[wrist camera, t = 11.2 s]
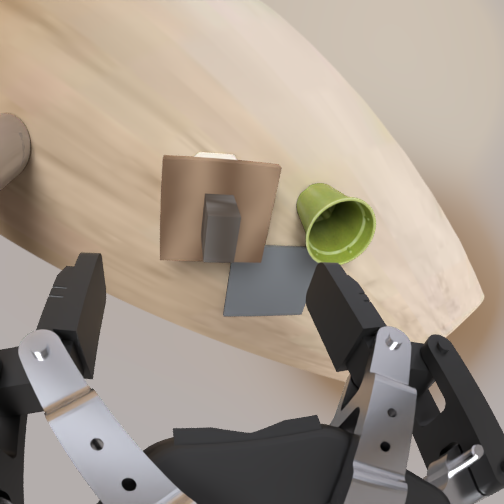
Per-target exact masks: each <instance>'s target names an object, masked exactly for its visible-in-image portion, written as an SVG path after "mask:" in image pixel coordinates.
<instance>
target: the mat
mask: <svg viewBox="0 0 504 504" xmlns="http://www.w3.org/2000/svg"><path fill="white" fill-rule="evenodd" d="M317 264H318V262H316V261H315V260H314V259H312V257H311V256H310V255H309V253H308V250H307V248H306V247H298V246H273V245H265V247H264V252H263V256H262V261H261V263H250V262H234V263H231V266H230V273H229V279H228V286H227V292H226V299H225V306H224V313H223V316H273V315H300V314H302V311H303V309H304V306H305V303H306V293H307V290H308V287H309V285H310V282H311V279H312V277H313V274H314V271H315V268H316V266H317Z"/></svg>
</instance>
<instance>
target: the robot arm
mask: <svg viewBox="0 0 504 504" xmlns="http://www.w3.org/2000/svg"><path fill="white" fill-rule="evenodd" d="M30 145H31V144H30V137H29V134H28V131H27V129H26V127H25V125H24V123H23V122H22V121H21V120H20V119H19V118H18V117H16V116H15V115H12V114H9V113H2V114H0V190H1V189H3V188H4V187H5V186H6V185H7V184H8V183H9V182H11V181H12V180H13V179H14V178H15V177H16V176H17V175H19V174H20V173H21V172H22V171H23V169H24V168H25V166H26V165H27V162H28V159H29V156H30ZM364 293H365V292H364V291H363V289H362V288H361V286H360V285H359V284H358V283H357V282H356V281H355V280H354V279H353V278H351V277H350V276H349V275H347V274H346V273H345V271H344V270H343V268H342V267H341V266H340V264H339V263H331V262H320V263H318V264H317V266H316V268H315V271H314V274H313V277H312V279H311V282H310V285H309V287H308V290H307V293H306V306H307V308H308V311H309V313H310V315H311V317H312V319H313V321H314V324H315V326H316V328H317V330H318V332H319V334H320V336H321V339H322V341H323V343H324V345H325V347H326V350H327V352H328V354H329V356H330V358H331V360H332V363H333V365H334V367H335V369H336V372H339V371H345V370H348V371H349V373H350V375H349V376H348V378H347V380H346V383H345V386H344V390H343V393H342V396H341V399H340V402H339V405H338V408H337V411H336V414H335V416H334V418H333V420H332V422H331V424H330V425H326V424H320V422H319V419H318V416H317V415H314V416H309V417H302V418H296V419H290V420H284V421H282V422H279V423H277V424H274V425H272V426H269V427H267V428H264V429H262V430H259V431H256V432H253V433H244V432H237V431H230V430H223V429H217V428H181V429H180V428H174V429H173V436H174V437H172V438H169V439H165V440H162V441H160V442H157V443H155V444H153V445H151V446H149V447H148V448H146V449H145V450H143V451H142V450H141V449H140V448H139V446H138V445H137V444H136V443H135V442H134V441H133V439H132V438H131V437H130V436H129V435H128V433H127V432H126V431H125V430H124V429H123V427H122V426H121V425H120V423H119V422H118V421H117V420H116V418H115V417H114V416H113V414H112V413H111V412H110V410H109V409H108V408H107V407H106V405H105V404H104V402H103V401H102V399H101V398H100V397H99V395H98V394H97V393H96V392H95V390H94V389H91V388H90V387H89V386H88V384H87V383H86V381H85V380H84V378H85V379H93V374H94V366H95V360H96V352H97V346H98V340H99V335H100V329H101V324H102V319H103V313H104V308H105V303H106V286H105V278H104V270H103V262H102V256H101V254H100V253H80V254H79V256H78V259H77V261H76V264H75V266H74V267H72V266H66V267H65V268H64V269H63V270H62V271H61V272H60V273H59V274H58V275H57V277H56V280H55V282H54V284H53V288H52V289H51V292H50V294H49V297H48V299H47V302H46V304H45V307H44V310H43V312H42V315H41V318H40V321H39V323H38V326H37V329H36V330H35V331H32V332H31V333H29V334H27V335H26V336H25V337H24V338H23V339H22V341H21V342H20V345H19V346H18V347H14V348H8V349H2V350H0V504H24V494H23V492H24V491H23V472H24V447H25V434H26V423H27V414H29V413H35V412H42V411H45V417H46V419H47V421H48V423H49V425H50V426H51V428H52V430H53V432H54V433H55V435H56V437H57V439H58V440H59V442H60V444H61V445H62V447H63V448H64V450H65V451H66V453H67V455H68V456H69V458H70V459H71V461H72V462H73V464H74V465H75V467H76V468H77V469H78V471H79V472H80V474H81V475H82V477H83V478H84V479H85V481H86V482H87V483H88V485H89V486H90V487H91V489H92V490H93V491H94V493H95V494H96V495H97V496H98V498H99V499H100V501H99V502H98V503H97V504H474V503H476V502H478V501H480V500H482V499H484V498H486V497H488V496H490V495H492V494H494V493H496V492H497V491H499V490H501V489H503V488H504V434H503V431H502V429H501V428H500V426H499V424H498V422H497V420H496V418H495V416H494V414H493V412H492V410H491V408H490V407H489V405H488V403H487V401H486V399H485V397H484V396H483V394H482V392H481V391H480V389H479V387H478V385H477V384H476V382H475V380H474V379H473V377H472V375H471V373H470V372H469V370H468V368H467V367H466V365H465V364H464V362H463V360H462V359H461V357H460V356H459V354H458V352H457V351H456V349H455V348H454V346H453V345H452V343H451V342H450V341H449V340H448V339H446V338H445V337H443V336H441V335H436V334H435V335H431V336H430V337H429V338H428V339H427V341H426V342H425V343H424V344H422V343H415V342H410V340H409V338H408V337H407V336H406V335H405V334H404V333H403V332H402V331H401V330H399V329H397V328H394V327H390V326H386V324H385V323H384V321H383V320H382V318H381V317H380V315H379V313H378V312H377V310H376V309H375V307H374V306H373V304H372V303H371V302H369V298H368V297H367V295H366V294H364ZM435 381H436V383H437V385H438V387H439V389H440V391H441V392H442V394H443V396H444V398H445V402H446V405H445V409H444V411H443V412H442V413H440V411H439V409H438V407H437V405H436V403H435V401H434V399H433V397H432V395H431V394H430V392H429V390H428V388H429V387H430V386H431V385H432V384H433V383H434V382H435ZM412 434H413V436H414V439H415V441H416V443H417V446H418V448H419V451H420V453H421V455H422V458H423V460H424V463H425V465H426V468H427V476H425V477H424V478H423V479H422V478H420V477H418V476H416V475H415V474H413V473H412V472H410V471H408V470H407V469H406V467H407V461H408V456H409V450H410V444H411V438H412Z"/></svg>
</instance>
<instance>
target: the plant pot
mask: <svg viewBox="0 0 504 504" xmlns="http://www.w3.org/2000/svg"><path fill="white" fill-rule="evenodd" d="M331 206H332V207H331ZM297 211H298V214H299V217H300V219H301V222H302V224H303V227H304V230H305V232H306V237H305V242H306V248H307V250H308V253H309V255H310V256H311V257H312V259H314V260H315V261H316V262H318V263H320V262H331V263H339V264H340V265H342V264H345V263H348V262H350V261H352V260H353V259H355V258H357V257H358V256H359V255H360V254H362V253H363V252H364V251H365V249H366V248H367V247H368V246H369V244H370V242H371V240H372V239H373V236H374V233H375V229H376V219H375V214H374V212H373V210H372V208H371V207H370V206H369V205H368V204H367V203H366V202H365V201H363V200H361V199H358V198H354V197H347V196H346V195H344V194H342V193H341V192H339V191H337V190H336V189H334V188H332V187H331V186H329V185H327V184H324V183H317V184H313V185H310V186H309V187H308V188H307V189H306V190H305V191H303V192H302V193H301V194H300V196H299V198H298V201H297ZM318 217H319V218H318ZM317 218H318V219H317Z"/></svg>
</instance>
